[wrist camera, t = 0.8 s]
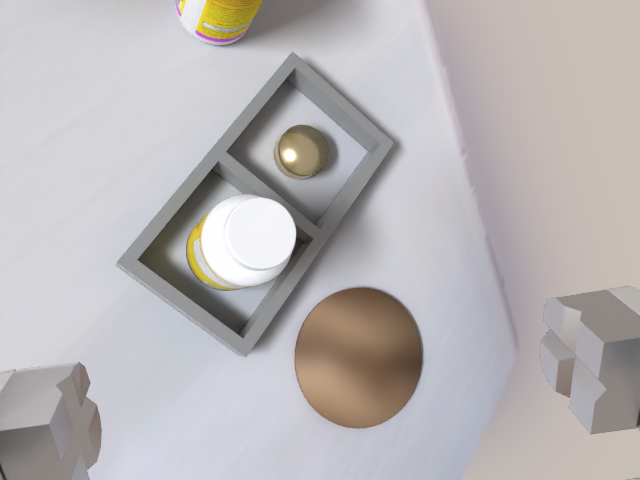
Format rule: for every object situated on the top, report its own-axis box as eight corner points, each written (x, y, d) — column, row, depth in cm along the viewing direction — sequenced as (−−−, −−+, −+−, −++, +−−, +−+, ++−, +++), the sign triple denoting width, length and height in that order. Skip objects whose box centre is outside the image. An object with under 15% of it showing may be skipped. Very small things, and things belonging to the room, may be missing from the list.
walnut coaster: (293, 288, 49) (295, 288, 49) (414, 288, 54) (418, 287, 53) (295, 433, 48) (298, 434, 47) (420, 420, 52) (424, 421, 51)
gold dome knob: (272, 129, 51) (279, 122, 49) (319, 134, 52) (327, 127, 50) (273, 178, 50) (280, 172, 48) (320, 181, 52) (328, 176, 50)
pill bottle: (260, 214, 49) (308, 184, 38) (263, 290, 48) (313, 281, 37) (182, 213, 46) (210, 181, 36) (184, 293, 46) (214, 284, 35)
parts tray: (238, 355, 47) (246, 357, 44) (115, 265, 44) (116, 262, 42) (381, 150, 54) (394, 142, 52) (283, 63, 52) (292, 51, 49)
